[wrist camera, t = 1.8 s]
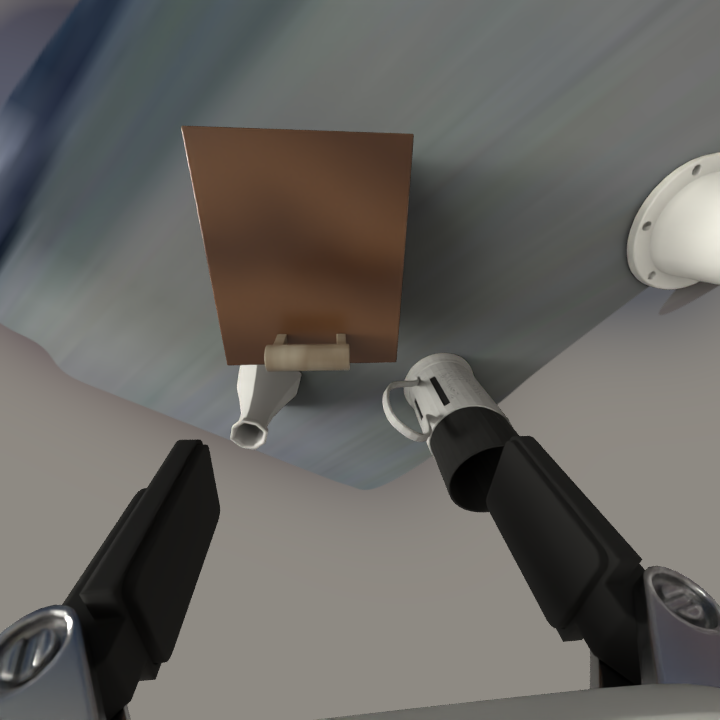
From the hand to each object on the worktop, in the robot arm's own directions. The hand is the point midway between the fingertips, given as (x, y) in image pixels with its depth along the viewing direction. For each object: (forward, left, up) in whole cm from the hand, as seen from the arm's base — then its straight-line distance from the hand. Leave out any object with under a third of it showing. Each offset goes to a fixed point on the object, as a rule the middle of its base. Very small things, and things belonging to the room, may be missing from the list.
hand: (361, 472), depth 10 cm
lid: (+3, -4, -16) cm, 17 cm away
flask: (+9, +11, -25) cm, 29 cm away
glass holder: (-9, +11, -25) cm, 29 cm away
